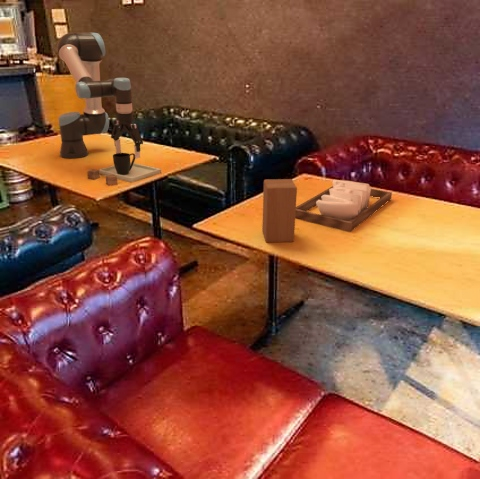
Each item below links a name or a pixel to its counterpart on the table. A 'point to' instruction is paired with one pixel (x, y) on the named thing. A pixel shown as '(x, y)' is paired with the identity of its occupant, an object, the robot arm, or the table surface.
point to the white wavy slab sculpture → (345, 200)
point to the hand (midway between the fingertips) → (127, 155)
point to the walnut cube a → (93, 174)
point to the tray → (132, 172)
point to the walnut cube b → (111, 179)
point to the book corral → (338, 223)
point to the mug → (123, 163)
